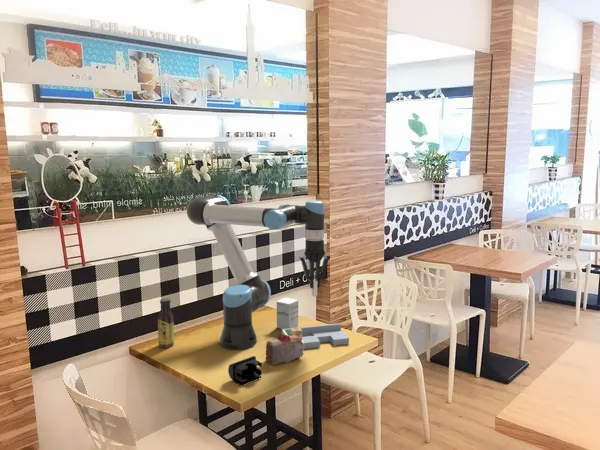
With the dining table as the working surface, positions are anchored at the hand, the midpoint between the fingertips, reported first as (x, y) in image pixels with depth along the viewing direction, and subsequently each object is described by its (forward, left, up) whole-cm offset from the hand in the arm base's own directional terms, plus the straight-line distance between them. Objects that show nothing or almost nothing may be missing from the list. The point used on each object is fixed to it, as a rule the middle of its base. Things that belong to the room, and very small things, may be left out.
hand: (314, 295), depth 207 cm
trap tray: (0, 0, -20) cm, 20 cm away
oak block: (-8, 0, -18) cm, 19 cm away
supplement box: (-7, +20, -21) cm, 29 cm away
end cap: (-33, -25, -21) cm, 46 cm away
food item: (-16, -13, -21) cm, 29 cm away
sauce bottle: (-60, +13, -20) cm, 65 cm away
